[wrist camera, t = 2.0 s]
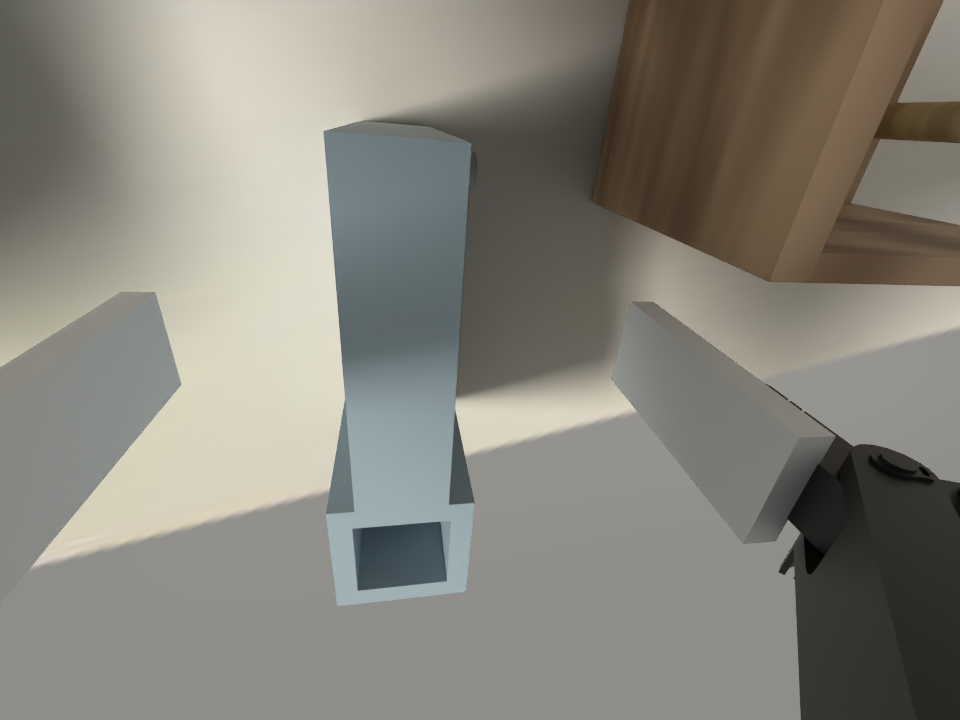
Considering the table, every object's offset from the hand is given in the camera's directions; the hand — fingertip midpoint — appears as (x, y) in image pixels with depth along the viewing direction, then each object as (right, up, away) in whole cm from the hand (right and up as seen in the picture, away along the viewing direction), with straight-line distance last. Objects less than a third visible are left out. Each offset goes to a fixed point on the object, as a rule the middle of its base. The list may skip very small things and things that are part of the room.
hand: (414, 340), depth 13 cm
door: (-2, +3, +9) cm, 10 cm away
